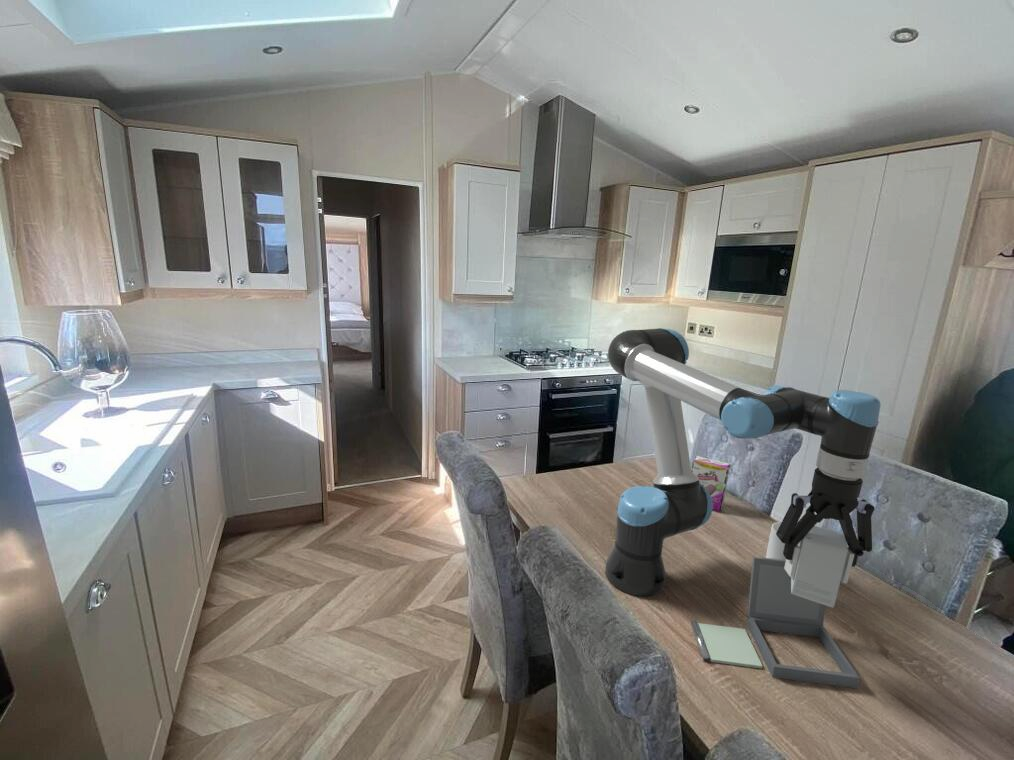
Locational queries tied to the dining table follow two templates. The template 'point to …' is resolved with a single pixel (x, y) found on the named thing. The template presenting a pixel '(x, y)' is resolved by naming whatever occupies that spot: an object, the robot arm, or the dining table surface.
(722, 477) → the candy bar box
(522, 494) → the dining table surface
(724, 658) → the mat
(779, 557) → the mug
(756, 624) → the grey square frame
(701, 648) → the rod
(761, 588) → the lid
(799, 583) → the supplement box
